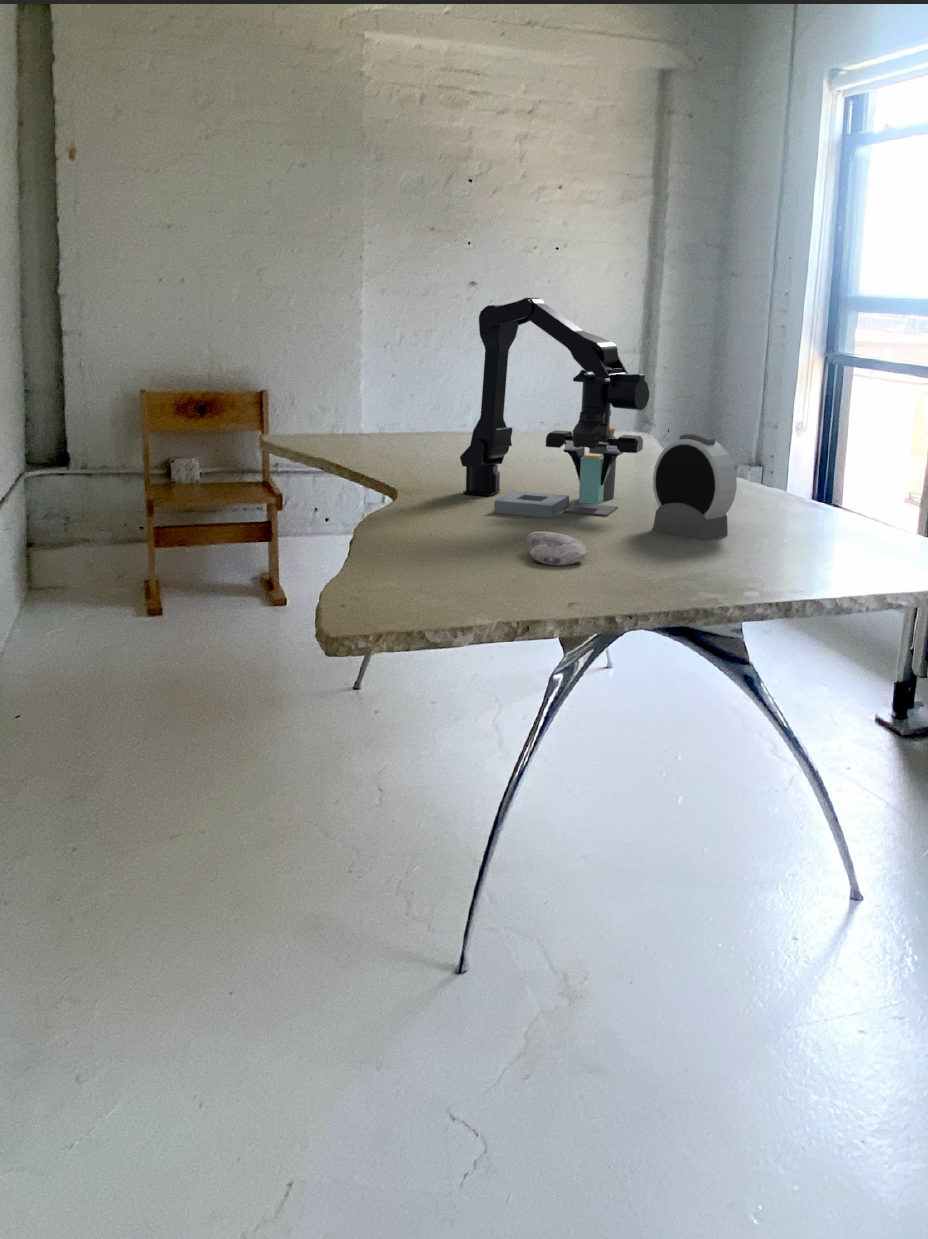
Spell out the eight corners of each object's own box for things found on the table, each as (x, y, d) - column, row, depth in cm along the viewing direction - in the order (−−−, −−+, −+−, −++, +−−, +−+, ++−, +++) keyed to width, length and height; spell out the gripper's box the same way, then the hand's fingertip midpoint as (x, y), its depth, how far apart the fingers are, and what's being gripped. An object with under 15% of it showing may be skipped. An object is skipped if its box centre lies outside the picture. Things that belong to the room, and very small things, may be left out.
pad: (563, 512, 215) (563, 510, 215) (575, 504, 223) (575, 502, 223) (606, 516, 212) (606, 514, 212) (617, 508, 220) (618, 506, 219)
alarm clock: (639, 527, 203) (645, 430, 197) (675, 521, 209) (682, 427, 203) (705, 543, 190) (713, 440, 185) (741, 536, 196) (751, 436, 191)
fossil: (596, 542, 173) (538, 548, 170) (596, 566, 174) (538, 573, 172) (570, 522, 184) (515, 528, 181) (570, 546, 185) (515, 552, 183)
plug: (578, 502, 216) (581, 455, 213) (584, 499, 219) (586, 452, 216) (597, 504, 214) (600, 456, 211) (603, 500, 218) (605, 454, 215)
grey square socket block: (494, 512, 213) (494, 500, 213) (513, 502, 224) (514, 490, 223) (551, 518, 209) (551, 505, 208) (568, 507, 220) (569, 495, 219)
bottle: (612, 500, 228) (616, 430, 223) (585, 499, 229) (589, 428, 225) (614, 495, 233) (618, 426, 229) (588, 494, 235) (591, 425, 230)
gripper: (538, 407, 207) (535, 486, 212) (632, 413, 201) (627, 494, 205) (555, 402, 217) (552, 478, 222) (645, 407, 210) (640, 485, 215)
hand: (591, 484), depth 216 cm, fingers closed on plug, 4 cm apart
